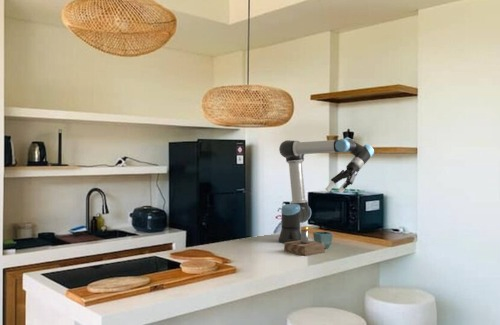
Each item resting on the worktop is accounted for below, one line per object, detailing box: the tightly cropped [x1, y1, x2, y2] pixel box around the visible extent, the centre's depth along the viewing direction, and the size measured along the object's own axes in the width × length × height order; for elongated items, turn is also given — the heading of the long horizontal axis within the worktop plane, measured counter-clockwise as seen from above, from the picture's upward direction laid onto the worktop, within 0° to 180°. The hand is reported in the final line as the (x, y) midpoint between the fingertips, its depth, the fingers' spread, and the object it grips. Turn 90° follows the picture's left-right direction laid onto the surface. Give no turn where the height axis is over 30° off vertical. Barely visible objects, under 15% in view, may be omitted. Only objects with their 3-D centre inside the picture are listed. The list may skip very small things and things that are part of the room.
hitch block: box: [283, 240, 326, 257], centre depth 269 cm, size 16×16×5 cm
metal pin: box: [300, 226, 309, 244], centre depth 269 cm, size 4×4×14 cm
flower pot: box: [312, 231, 334, 249], centre depth 282 cm, size 9×9×9 cm
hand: (333, 191), depth 282 cm, fingers open, 13 cm apart
